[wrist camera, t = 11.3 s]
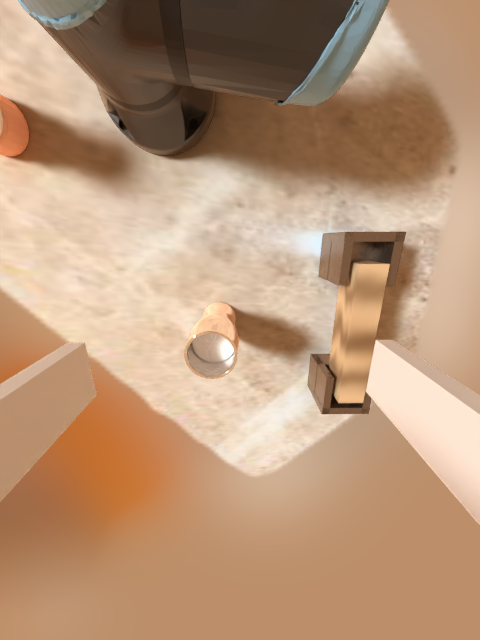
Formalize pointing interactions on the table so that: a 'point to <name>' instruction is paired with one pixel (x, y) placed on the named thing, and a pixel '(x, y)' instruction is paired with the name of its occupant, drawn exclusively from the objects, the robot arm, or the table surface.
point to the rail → (356, 329)
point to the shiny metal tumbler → (213, 342)
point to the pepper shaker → (12, 129)
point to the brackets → (336, 270)
